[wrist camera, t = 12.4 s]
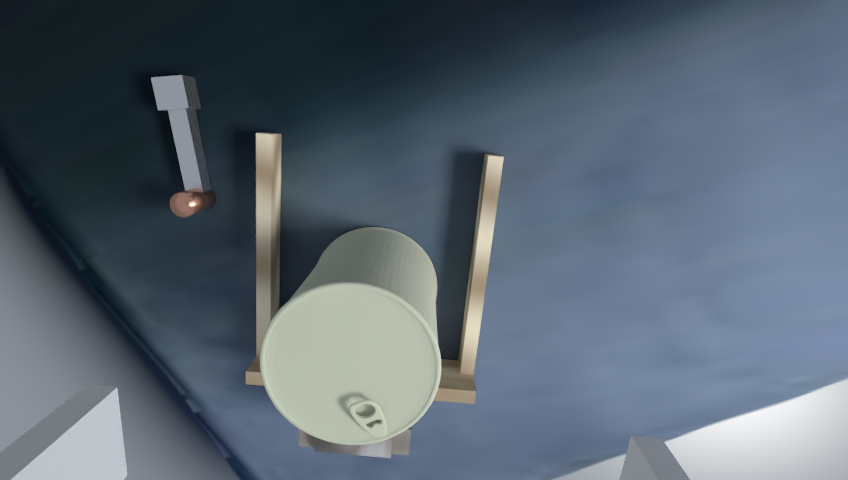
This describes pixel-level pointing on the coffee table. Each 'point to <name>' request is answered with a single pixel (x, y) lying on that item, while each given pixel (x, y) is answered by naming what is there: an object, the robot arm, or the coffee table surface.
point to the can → (357, 341)
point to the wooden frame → (268, 203)
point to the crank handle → (185, 142)
